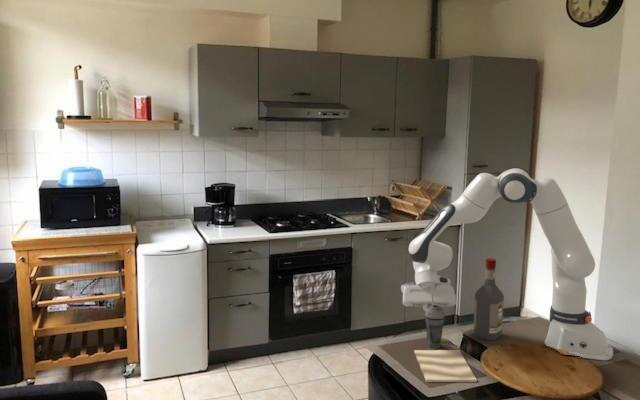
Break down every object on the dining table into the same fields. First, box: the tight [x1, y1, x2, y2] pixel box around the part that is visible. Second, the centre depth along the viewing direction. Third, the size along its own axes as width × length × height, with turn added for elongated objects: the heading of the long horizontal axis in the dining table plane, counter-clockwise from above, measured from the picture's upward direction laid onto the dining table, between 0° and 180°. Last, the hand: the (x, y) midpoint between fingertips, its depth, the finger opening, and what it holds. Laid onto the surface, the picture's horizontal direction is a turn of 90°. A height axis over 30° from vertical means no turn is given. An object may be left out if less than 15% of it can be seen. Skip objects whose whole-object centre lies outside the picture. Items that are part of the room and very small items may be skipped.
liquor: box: [473, 258, 505, 341], centre depth 208 cm, size 9×9×30 cm
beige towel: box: [413, 349, 478, 383], centre depth 185 cm, size 22×16×1 cm
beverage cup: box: [424, 294, 446, 350], centre depth 199 cm, size 7×7×20 cm
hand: (431, 316), depth 206 cm, fingers closed
